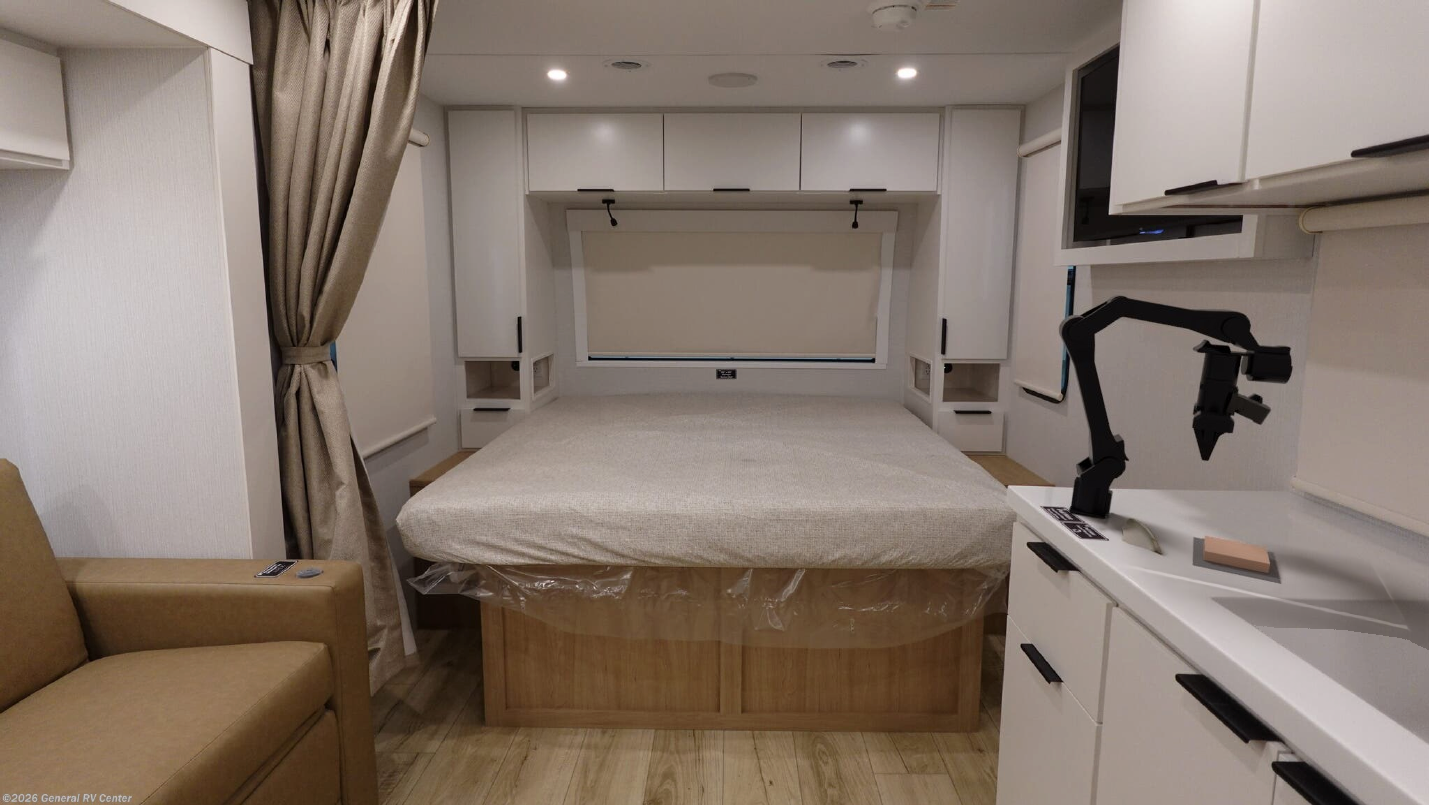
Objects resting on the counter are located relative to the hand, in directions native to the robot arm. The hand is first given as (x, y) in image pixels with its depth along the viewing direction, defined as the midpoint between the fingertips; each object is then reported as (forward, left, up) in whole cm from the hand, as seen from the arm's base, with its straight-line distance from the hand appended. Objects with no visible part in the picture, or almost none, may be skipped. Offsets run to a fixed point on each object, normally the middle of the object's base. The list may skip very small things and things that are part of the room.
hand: (1205, 460), depth 148 cm
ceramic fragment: (-8, -17, -14) cm, 23 cm away
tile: (+6, -12, -12) cm, 18 cm away
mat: (+6, -17, -13) cm, 22 cm away
